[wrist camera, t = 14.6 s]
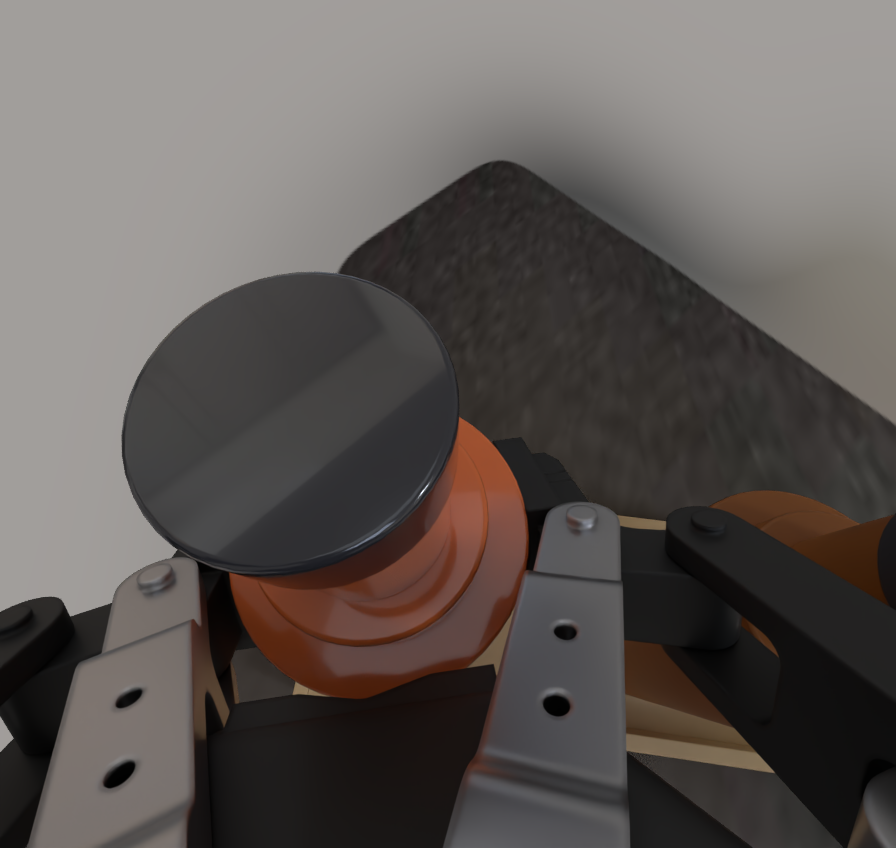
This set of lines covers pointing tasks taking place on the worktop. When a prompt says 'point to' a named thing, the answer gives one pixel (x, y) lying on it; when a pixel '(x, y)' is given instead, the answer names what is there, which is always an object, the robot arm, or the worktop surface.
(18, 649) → the robot arm
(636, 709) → the tray
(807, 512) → the amber bottle
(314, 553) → the terracotta bottle
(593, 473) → the worktop surface
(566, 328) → the worktop surface
